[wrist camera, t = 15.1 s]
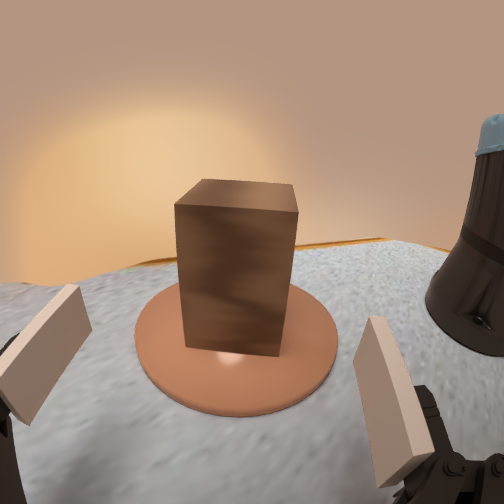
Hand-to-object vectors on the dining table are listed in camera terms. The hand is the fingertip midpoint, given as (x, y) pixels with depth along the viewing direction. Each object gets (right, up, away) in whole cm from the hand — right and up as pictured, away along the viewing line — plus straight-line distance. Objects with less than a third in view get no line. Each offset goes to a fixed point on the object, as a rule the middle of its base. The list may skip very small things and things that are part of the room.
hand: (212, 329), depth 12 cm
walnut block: (0, -3, +12) cm, 12 cm away
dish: (0, -4, +12) cm, 13 cm away
